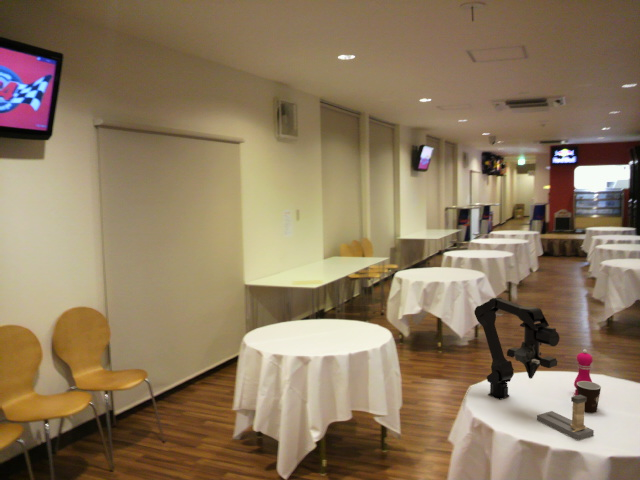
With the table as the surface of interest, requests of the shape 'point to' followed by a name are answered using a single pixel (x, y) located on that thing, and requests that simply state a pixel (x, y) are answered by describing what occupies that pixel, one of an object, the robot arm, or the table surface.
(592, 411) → the coffee mug
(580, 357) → the pepper mill
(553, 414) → the fader console
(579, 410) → the fader lever
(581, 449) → the table surface
